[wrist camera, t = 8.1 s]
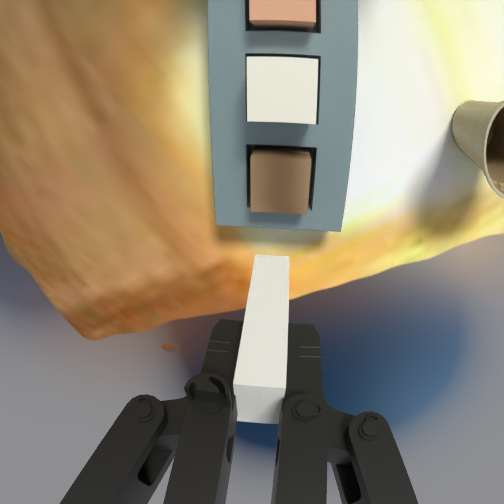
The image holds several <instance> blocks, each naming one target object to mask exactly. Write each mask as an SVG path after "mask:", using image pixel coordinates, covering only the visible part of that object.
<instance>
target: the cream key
mask: <svg viewBox="0 0 504 504" xmlns="http://www.w3.org/2000/svg"><path fill="white" fill-rule="evenodd" d="M317 85H318V59H310V58H295V57H247V121H254V122H287V123H304V124H316V111H317Z"/></svg>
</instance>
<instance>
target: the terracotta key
mask: <svg viewBox="0 0 504 504" xmlns="http://www.w3.org/2000/svg"><path fill="white" fill-rule="evenodd" d="M249 14H250V22H251V23H252V25H253V26H254V28H282V29H303V30H312V28H313V27H314V25H315V23H316V0H249Z"/></svg>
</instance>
